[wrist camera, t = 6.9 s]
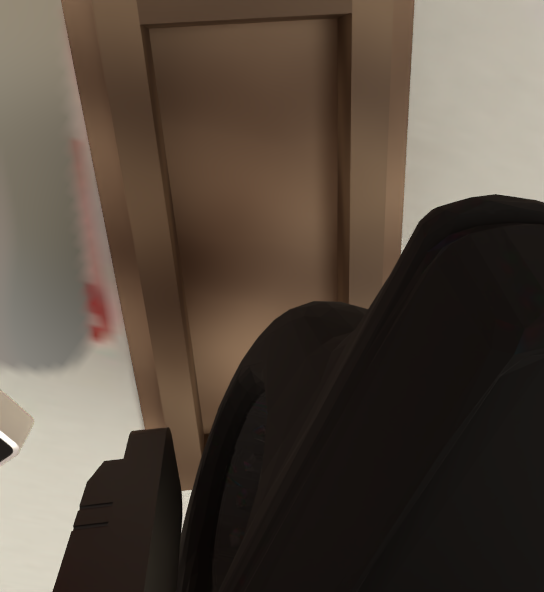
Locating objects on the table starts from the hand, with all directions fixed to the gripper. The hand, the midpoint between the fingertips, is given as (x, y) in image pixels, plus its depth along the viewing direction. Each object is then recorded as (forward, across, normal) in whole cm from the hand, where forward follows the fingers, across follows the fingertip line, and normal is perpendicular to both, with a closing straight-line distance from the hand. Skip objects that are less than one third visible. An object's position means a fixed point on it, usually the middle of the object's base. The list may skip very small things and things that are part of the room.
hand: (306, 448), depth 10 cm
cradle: (+11, 0, 0) cm, 11 cm away
